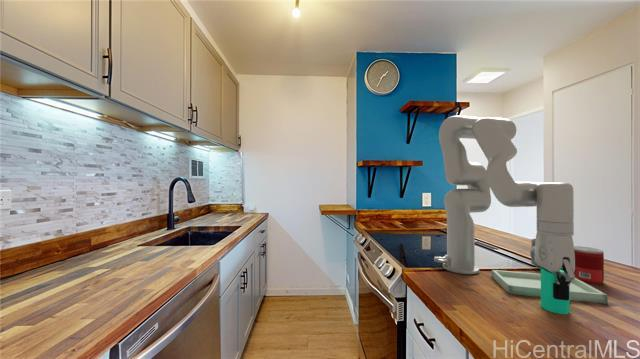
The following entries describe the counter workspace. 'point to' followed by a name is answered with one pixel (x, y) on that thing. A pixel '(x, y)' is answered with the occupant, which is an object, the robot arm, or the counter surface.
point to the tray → (532, 286)
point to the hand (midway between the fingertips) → (554, 294)
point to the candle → (547, 294)
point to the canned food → (589, 265)
